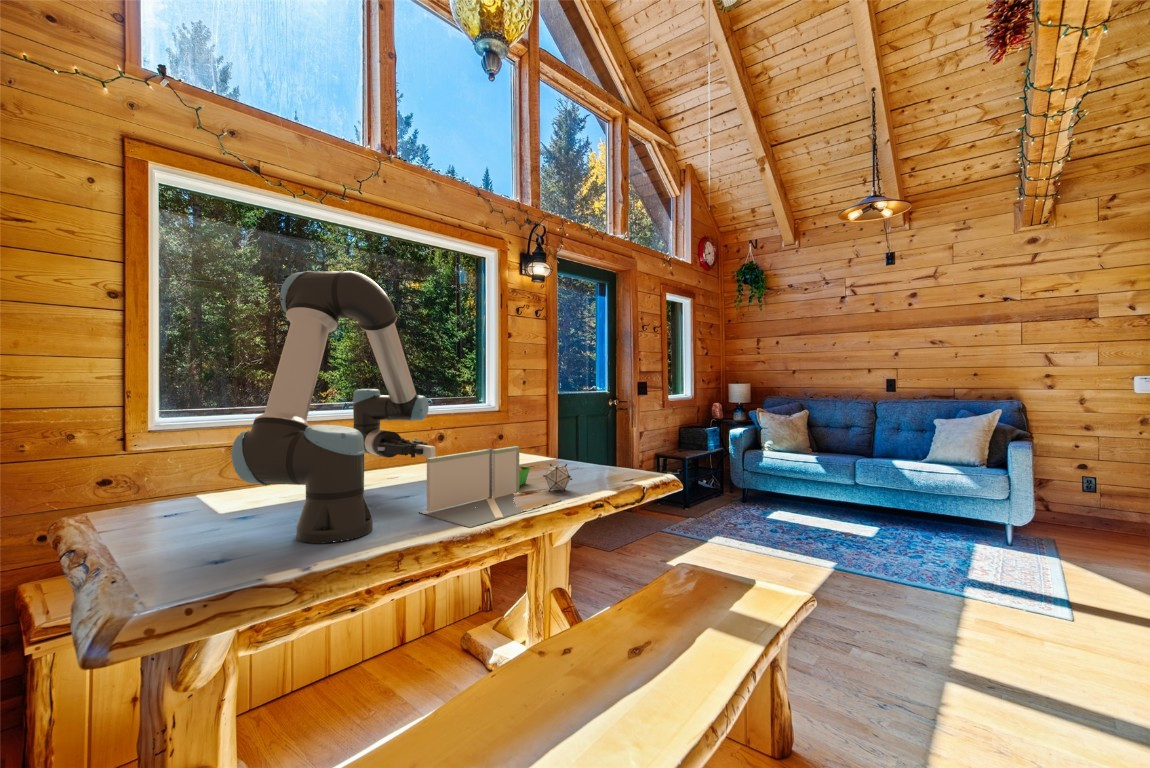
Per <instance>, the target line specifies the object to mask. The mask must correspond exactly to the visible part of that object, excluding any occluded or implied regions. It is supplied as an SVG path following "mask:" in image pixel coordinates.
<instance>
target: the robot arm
mask: <svg viewBox="0 0 1150 768" xmlns="http://www.w3.org/2000/svg"><path fill="white" fill-rule="evenodd" d="M279 294H280V296H279V297H280V299H281V301H280V304H281V305H280V306H281V307H282V311H283V312H284V313H285V317H286V319H287V320H288V322H289V323H290V325H289V328H288V332H287V334H286V338H285V342H284V344H283V345H284V346H283V348H282V352H281V356H280V359H279V362H278V365H277V368H276V373H275V376H274V379H273V382H272V387H271V390H270V393H269V397H268V400H267V403H266V407H265V410H264V413H263V414H260V415H259V416H257V417H255V418H254V420H253V424H252V426H251V429H248V430H245V431H242V432H240V433H239V435H237V436H236V437H235V439H234V441H233V444H232V448H231V463H232V467H233V468H234V471H235V474H236V475H237V476H238V477H239V478H240V479H241V480H242V481H243V482H246V483H248V484H253V485H254V484H255V485H262V486H269V485H289V486H290V485H295V486H296V485H297V486H300V485H301V486H305V502H304V505H303V508H302V510H301V513H300V516H299V520H298V522H297V526H296V539H297V540H298V541H300V540H301V541H300V542H302V541H304V542H303V543H307V542H311V543H310V544H323V543H322V542H333V541H341V540H346V541H348V540H347V539H351V540H353V539H352V538H355V539H357V538H356V537H358V538H360V537H359V536H361V537H364V536H366V535H368V534H369V533H371V532H372V530H373V529H374V527H373V525H374V524H373V523H374V522H373V517H372V514H371V511H370V508H369V505H368V503H367V499H366V497H365V454H369V455H375V456H377V458H381V457H383V458H389V459H390V458H394V457H396V456H405V457H407V456H408V455H410V458H416V456H419V457H425V458H432V457H436V446H433V445H428V443H427V442H424V441H421V440H419V439H417V438H416V439H413V440H412V442H411V441H410V439H405V438H404V437H403V438H402V437H401V435H400V434H399V433H397V432H395V431H391V430H384V429H381V421H407V422H408V421H410V422H413V421H414V422H415V421H423V420H425V419H426V418H427V415H429V414H428V413H429V400H428V398H427V397H426V396H425V395H421V394H417V391H416V389H415V385H414V382H413V379H412V375H411V372H410V369H409V365H408V363H407V359H406V356H405V353H404V349H403V346H402V343H401V340H400V336H399V334H398V328H397V326H396V322H397V320H398V315H397V314H396V310H395V307H394V305H393V303H392V301H391V299H390V298H389V296H388V295H387V293H386V292H385V291H384V289H383V288H381V286H379V284H378V283H376V282H375V281H374V280H373V279H372V278H370V277H369V276H367V275H365V274H363V273H360V272H358V271H352V270H346V271H314V270H307V271H301V272H300V271H299V272H295V273H292V274H290V275H288V277H287V278H286V279H284V282H283V283H282V285H281V289H280V293H279ZM351 318H352V319H354V320H356V321H357V323H358V326H359V327H360V329H361V330H362V331H365V333H366V335H367V336H366V337H367V338H368V342H369V344H370V346H371V349H372V352H373V355H374V357H375V361H376V363H377V365H378V368H379V371H380V374H381V376H382V379H383V382H384V386H385V388H386V391H387V393H388V395H387V394H386V395H384V394H381V391H380V389H378V388H360V389H359V388H358V389H355V391H353V398H352V400H353V402H352V406H353V407H352V409H353V410H352V412H353V418H352V419H353V426H352V427H350V426H346V425H345V426H344V425H335V424H314V425H313V424H312V425H310V424H309V423H308V421H307V420H308V415H309V412H310V408H311V403H312V400H313V395H314V392H315V389H316V388H315V387H316V384H317V380H318V377H319V372H320V368H321V365H322V360H323V357H324V353H325V349H326V345H327V342H328V337H329V333H332V332H333V331H334V332H335V331H336V330H337V328H338V324H339V320H340V319H351ZM370 531H371V532H370ZM367 533H368V534H367ZM365 534H366V535H365ZM363 535H364V536H363ZM341 542H342V541H341ZM333 543H334V542H333Z"/></svg>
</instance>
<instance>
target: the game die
mask: <svg viewBox="0 0 1150 768" xmlns="http://www.w3.org/2000/svg"><path fill="white" fill-rule="evenodd" d="M549 466H550V467H549V469H548V471H547V472H546V474H543V475H542V477H543V478H544V479H545V480H546V483H547V485H548V488H549V489H548V490H549V492H551V490H559V491H560V490H563V491H564V492H565V491H566V492H567V489H566V488H567V486H568V484H569V482H570V481H572V480H573V478H572V476H571V475H570V474H569V472H568V469H567V468H568V467H567V466H568V463H566V464H565V465H552V463H549Z"/></svg>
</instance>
